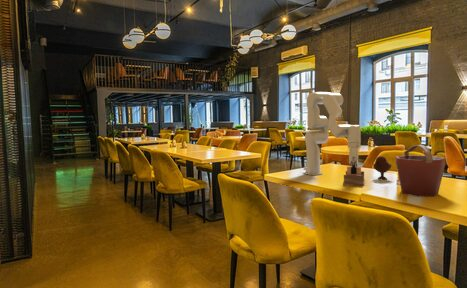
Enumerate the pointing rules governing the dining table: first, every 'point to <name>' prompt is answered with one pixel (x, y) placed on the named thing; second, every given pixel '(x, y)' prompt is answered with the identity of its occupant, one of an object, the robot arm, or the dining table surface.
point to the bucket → (420, 172)
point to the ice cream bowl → (382, 166)
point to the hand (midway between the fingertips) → (354, 172)
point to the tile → (350, 171)
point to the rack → (354, 179)
